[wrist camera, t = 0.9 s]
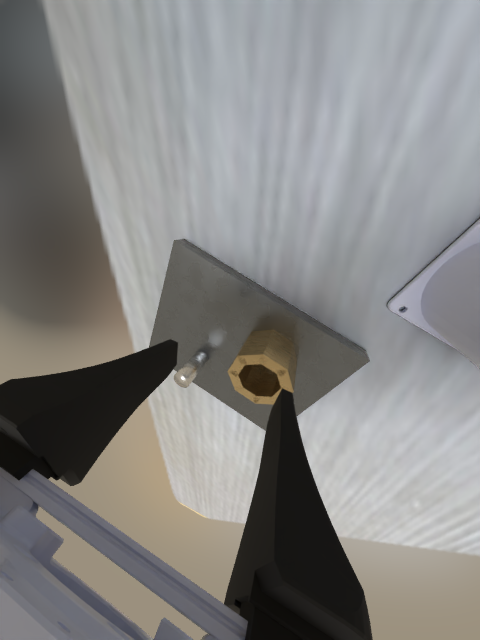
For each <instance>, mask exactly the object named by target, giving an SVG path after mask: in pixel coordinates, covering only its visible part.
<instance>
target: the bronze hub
mask: <svg viewBox="0 0 480 640" xmlns="http://www.w3.org/2000/svg"><path fill="white" fill-rule="evenodd" d="M296 367H297V358H296V353H295V349H294V345H293V341H291V340H289V339H288V338H286V337H284V336H283V335H281V334H280V333H278V332H276V331H275V330H273V329H271V330H263V331H254V332H251V334H250V335H249V337H248V338H247V340H246V341H245V343H244V344H243V346H242V347H241V349H240V351H239V352H238V354H237V356H236V357H235V359H234V361H233V363H232V364H231V366H230V368H229V369H228V371H227V372H228V374H229V376H230V379H231V381H232V384H233V386H234V389H235V390H236V391H237V392H239V393H240V394H242V395H243V396H245V397H246V398H248V399H249V400H251V401H252V402H254V403H255V404H271V405H274V403H275V401H276V399H277V397H278V395H279V393H280V391H281V389H282V388H283V389H285V390H287V391H290V392H292V393H293V392H294V384H295V376H296Z"/></svg>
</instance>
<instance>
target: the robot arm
mask: <svg viewBox="0 0 480 640" xmlns="http://www.w3.org/2000/svg"><path fill="white" fill-rule="evenodd" d="M387 306H388V308H389V309H390V310H391V311H392V312H394V313H395V314H397V315H399V316H400V317H402V318H404V319H406V320H407V321H409V322H411V323H412V324H414V325H416V326H417V327H419V328H421V329H422V330H424V331H426V332H428V333H429V334H431V335H433V336H434V337H436V338H438V339H439V340H441V341H443V342H444V343H446V344H448V345H449V346H451V347H453V348H455V349H456V350H458V351H460V352H461V353H462V354H463V355H464V356H465V357H466V358H468V359H469V360H470V361H471V362H472V363H473V364H475V365H476V366H477V367H478V368H479V369H480V219H479V220H478V221H477V222H476V223H475V224H474V225H473V226H471V227H470V228H469V229H468V230H467V231H466V232H465V233H464V234H463V235H462V236H460V237H459V238H458V239H457V240H456V241H455V242H454V243H453V244H452V245H451V246H449V247H448V248H447V249H446V250H445V251H444V252H443V253H442V254H441V255H440V256H438V257H437V258H436V259H435V260H434V261H433V262H432V263H431V264H430V265H429V266H428V267H426V268H425V269H424V270H423V271H422V272H421V273H420V274H419V275H418V276H417V277H415V278H414V279H413V280H412V281H411V282H410V283H409V284H408V285H407V286H406V287H404V288H403V289H402V290H401V291H400V292H399V293H398V294H397V295H396V296H395V297H393V298H392V299H391V300H390V301H389V302H388V305H387ZM403 306H405V309H404V310H402V311H399V308H400V307H403ZM177 353H178V342H176V341H174V340H171V339H169V340H167V341H164V342H162V343H159V344H157V345H154V346H152V347H149V348H147V349H144V350H142V351H139V352H137V353H134V354H131V355H128V356H125V357H122V358H119V359H116V360H113V361H110V362H106V363H103V364H99V365H95V366H91V367H87V368H82V369H78V370H73V371H68V372H63V373H57V374H51V375H44V376H36V377H29V378H20V379H11V380H9V381H7V382H5V383H3V384H1V385H0V640H193V639H192V638H191V637H189V636H188V635H187V634H185V633H184V632H183V631H181V630H180V629H179V628H178V627H176V626H175V625H174V624H172V623H171V622H170V621H169V620H167V619H166V618H163V619H162V620H161V623H160V625H159V627H158V630H157V633H156V635H155V638H154V639H153V638H151V637H150V636H149V635H148V634H147V633H146V632H144V631H143V630H142V629H141V628H140V627H138V626H137V625H136V624H135V623H134V622H132V621H131V620H130V619H129V618H128V617H126V616H125V615H124V614H123V613H122V612H121V611H119V610H118V609H117V608H116V607H115V606H113V605H112V604H111V603H110V602H108V601H107V600H106V599H105V598H103V597H102V596H101V595H100V594H98V593H97V592H96V591H95V590H93V589H92V588H91V587H89V586H88V585H87V584H86V583H84V582H83V581H82V580H81V579H79V578H78V577H76V576H75V575H74V574H73V573H72V572H70V571H69V570H68V569H66V568H65V567H64V566H63V565H61V564H60V563H59V562H57V561H56V560H55V559H53V558H52V556H53V554H54V553H55V552H56V551H57V550H58V548H59V547H60V546H61V544H62V543H63V538H61V537H60V536H59V535H57V534H56V533H55V532H54V531H52V530H51V529H50V528H49V527H47V526H46V525H45V524H43V523H42V522H41V521H40V520H38V519H37V518H36V513H37V511H38V506H40V507H41V508H42V509H44V510H45V511H46V512H48V513H49V514H50V515H52V516H53V517H54V518H56V519H57V520H58V521H60V522H61V523H62V524H63V525H65V526H66V527H67V528H69V529H70V530H72V531H73V532H74V533H75V534H77V535H78V536H79V537H81V538H82V539H83V540H85V541H86V542H87V543H89V544H90V545H91V546H93V547H94V548H95V549H97V550H98V551H100V552H101V553H102V554H103V555H105V556H106V557H107V558H109V559H110V560H111V561H112V562H114V563H115V564H116V565H118V566H119V567H121V568H122V569H123V570H124V571H126V572H127V573H128V574H130V575H131V576H132V577H134V578H135V579H136V580H138V581H139V582H140V583H142V584H143V585H144V586H146V587H147V588H148V589H150V590H151V591H152V592H154V593H155V594H156V595H158V596H159V597H160V598H162V599H163V600H164V601H166V602H167V603H168V604H170V605H171V606H172V607H173V608H175V609H176V610H177V611H179V612H180V613H181V614H183V615H184V616H185V617H187V618H188V619H189V620H191V621H192V622H193V623H195V624H196V625H197V626H199V627H200V628H201V629H203V630H204V631H205V632H207V633H208V634H209V635H208V634H207V635H205V636H203V638H202V639H201V640H372V633H371V626H370V619H369V615H368V609H367V605H366V601H365V595H364V591H363V589H362V587H361V585H360V583H359V581H358V579H357V576H356V574H355V573H354V570H353V568H352V566H351V564H350V562H349V560H348V558H347V556H346V554H345V552H344V550H343V548H342V545H341V543H340V541H339V539H338V537H337V534H336V532H335V530H334V528H333V525H332V523H331V521H330V518H329V516H328V514H327V511H326V509H325V506H324V504H323V501H322V499H321V497H320V494H319V492H318V489H317V486H316V483H315V481H314V478H313V475H312V472H311V469H310V466H309V463H308V460H307V457H306V453H305V450H304V446H303V443H302V439H301V435H300V431H299V426H298V422H297V417H296V411H295V405H294V398H293V393H292V392H290V391H287V390H285V389H283V388H282V389H281V391H280V393H279V395H278V397H277V399H276V401H275V403H274V405H273V407H272V409H271V412H270V416H269V420H268V423H267V428H266V434H265V440H264V446H263V452H262V458H261V464H260V469H259V474H258V478H257V482H256V486H255V490H254V494H253V498H252V502H251V506H250V510H249V513H248V517H247V521H246V525H245V528H244V532H243V536H242V539H241V543H240V547H239V550H238V554H237V557H236V561H235V564H234V568H233V572H232V575H231V578H230V582H229V586H228V589H227V593H226V598H225V602H224V604H223V603H221V602H220V601H219V600H217V599H216V598H214V597H213V596H212V595H210V594H209V593H207V592H206V591H205V590H203V589H202V588H200V587H199V586H197V585H196V584H195V583H193V582H192V581H190V580H189V579H188V578H186V577H185V576H183V575H182V574H180V573H179V572H178V571H176V570H175V569H173V568H172V567H171V566H169V565H168V564H166V563H165V562H164V561H162V560H161V559H159V558H158V557H156V556H155V555H153V554H152V553H151V552H150V551H148V550H147V549H145V548H144V547H142V546H141V545H140V544H138V543H137V542H135V541H134V540H132V539H131V538H130V537H128V536H127V535H125V534H124V533H123V532H121V531H120V530H118V529H117V528H116V527H114V526H113V525H111V524H110V523H108V522H107V521H106V520H104V519H103V518H101V517H100V516H99V515H97V514H96V513H94V512H93V511H92V510H90V509H89V508H87V507H86V506H85V505H83V504H82V503H80V502H79V501H78V500H76V499H75V498H73V497H72V496H70V495H69V494H68V493H66V492H65V491H63V490H62V489H61V488H59V487H58V486H56V485H55V484H54V483H52V482H51V481H49V480H48V479H49V478H50V477H52V478H54V479H55V480H59V479H61V480H63V481H64V482H66V483H67V484H69V485H70V486H74V485H76V484H79V483H80V482H81V481H82V480H83V478H84V477H85V475H86V474H87V473H88V471H89V470H90V468H91V467H92V466H93V464H94V463H95V461H96V460H97V458H98V457H99V456H100V454H101V453H102V452H103V450H104V449H105V448H106V446H107V445H108V444H109V442H110V441H111V440H112V438H113V437H114V436H115V434H116V433H117V432H118V431H119V429H120V428H121V427H122V426H123V424H124V423H125V422H126V421H127V419H128V418H129V417H130V416H131V415H132V413H133V412H134V411H135V410H136V409H137V407H138V406H139V405H140V404H141V403H142V402H143V401H144V400H145V399H146V398H147V397H148V396H149V395H150V394H151V393H152V392H153V391H154V390H155V389H156V388H157V387H158V386H159V385H160V384H161V383H162V382H163V381H164V380H165V379H166V378H167V377H168V375H169V374H170V373H171V372H172V370H173V369H174V368H175V366H176V365H177Z"/></svg>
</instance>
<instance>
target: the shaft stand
mask: <svg viewBox="0 0 480 640" xmlns="http://www.w3.org/2000/svg"><path fill="white" fill-rule="evenodd" d="M271 329H273V330H275V331H276V332H278V333H280V334H281V335H283V336H284V337H286V338H288V339H289V340H291V341H293V345H294V349H295V353H296V358H297V367H296V376H295V384H294V392H293V398H294V405H295V411H296V416H298V415H299V414H300V413H302V412H303V411H304V410H306V409H307V408H308V407H310V406H311V405H312V404H314V403H315V402H316V401H317V400H319V399H320V398H321V397H323V396H324V395H325V394H327V393H328V392H329V391H331V390H332V389H333V388H335V387H336V386H337V385H339V384H340V383H341V382H343V381H344V380H345V379H347V378H348V377H349V376H350V375H352V374H353V373H354V372H356V371H357V370H358V369H360V368H361V367H362V366H364V365H365V364H366V363H368V362H369V361H370V360H369V357H368V355H367V353H366V350H364V349H362V348H361V347H359V346H357V345H356V344H354V343H352V342H351V341H349V340H348V339H346V338H344V337H343V336H341V335H339V334H338V333H336V332H335V331H333V330H331V329H330V328H328V327H326V326H325V325H323V324H321V323H320V322H318V321H317V320H315V319H313V318H312V317H310V316H308V315H307V314H305V313H304V312H302V311H300V310H299V309H297V308H295V307H294V306H292V305H290V304H289V303H287V302H286V301H284V300H282V299H281V298H279V297H277V296H276V295H274V294H273V293H271V292H269V291H268V290H266V289H264V288H263V287H261V286H259V285H258V284H256V283H255V282H253V281H251V280H250V279H248V278H246V277H245V276H243V275H241V274H240V273H238V272H237V271H235V270H233V269H232V268H230V267H228V266H227V265H225V264H224V263H222V262H220V261H219V260H217V259H215V258H214V257H212V256H210V255H209V254H207V253H206V252H204V251H202V250H201V249H199V248H197V247H196V246H194V245H193V244H191V243H189V242H188V241H186V240H184V239H181V240H174V243H173V247H172V251H171V255H170V260H169V264H168V268H167V272H166V277H165V281H164V285H163V290H162V294H161V298H160V302H159V307H158V311H157V315H156V319H155V324H154V328H153V332H152V336H151V341H150V345H149V347H152V346H154V345H157V344H159V343H162V342H164V341H167V340H169V339H171V340H174V341H176V342H178V353H177V365H176V366H175V368H174V370H175V371H177V373H176V374H175V375H174V380H175V382H176V383H177V384H178V385H179V386H181V387H184V388H186V387H188V386H189V385H190V383H191V382H193V383H195V384H196V385H198V386H199V387H201V388H202V389H204V390H205V391H207V392H208V393H210V394H211V395H213V396H214V397H216V398H217V399H219V400H220V401H222V402H223V403H225V404H226V405H228V406H229V407H231V408H232V409H234V410H235V411H237V412H238V413H240V414H241V415H243V416H244V417H246V418H247V419H249V420H250V421H252V422H253V423H255V424H256V425H258V426H259V427H261V428H262V429H264V430H265V431H266V428H267V423H268V420H269V416H270V412H271V409H272V407H273V405H271V404H255V403H254V402H252V401H251V400H249V399H248V398H246V397H245V396H243V395H242V394H240V393H239V392H237V391H236V390H235V389H234V386H233V384H232V381H231V379H230V376H229V374H228V372H227V371H228V369H229V368H230V366H231V364H232V363H233V361H234V359H235V357H236V356H237V354H238V352H239V351H240V349H241V347H242V346H243V344H244V343H245V341H246V340H247V338H248V337H249V335H250V334H251V332H254V331H263V330H271Z"/></svg>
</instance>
